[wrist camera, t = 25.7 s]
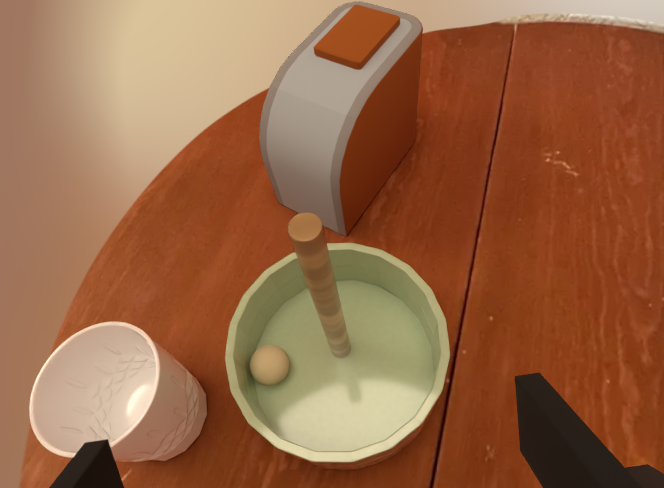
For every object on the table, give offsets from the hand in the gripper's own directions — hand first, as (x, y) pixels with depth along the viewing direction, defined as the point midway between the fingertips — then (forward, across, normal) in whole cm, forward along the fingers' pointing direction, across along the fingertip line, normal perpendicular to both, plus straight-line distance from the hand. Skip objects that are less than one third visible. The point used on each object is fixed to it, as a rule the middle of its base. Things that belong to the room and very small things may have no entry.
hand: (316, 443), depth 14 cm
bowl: (+20, 0, -8) cm, 22 cm away
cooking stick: (+20, 0, -7) cm, 21 cm away
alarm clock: (+34, +4, +6) cm, 35 cm away
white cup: (+19, -14, -10) cm, 25 cm away
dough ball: (+18, -5, -7) cm, 20 cm away
